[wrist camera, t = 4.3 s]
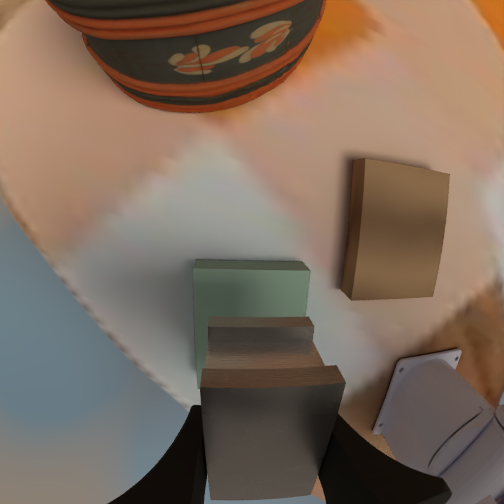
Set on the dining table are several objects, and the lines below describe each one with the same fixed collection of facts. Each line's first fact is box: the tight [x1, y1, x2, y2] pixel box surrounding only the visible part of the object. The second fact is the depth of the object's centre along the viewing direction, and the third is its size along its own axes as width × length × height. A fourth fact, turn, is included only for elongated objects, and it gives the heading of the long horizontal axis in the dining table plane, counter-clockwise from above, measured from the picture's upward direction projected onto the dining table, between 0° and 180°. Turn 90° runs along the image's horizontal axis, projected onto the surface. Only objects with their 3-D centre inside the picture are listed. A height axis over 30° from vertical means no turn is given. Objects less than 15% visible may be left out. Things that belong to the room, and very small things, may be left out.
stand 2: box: [341, 159, 450, 300], centre depth 19 cm, size 9×7×2 cm
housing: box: [200, 316, 346, 500], centre depth 11 cm, size 7×4×5 cm, turn 178°
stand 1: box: [193, 259, 310, 389], centre depth 20 cm, size 9×7×2 cm
